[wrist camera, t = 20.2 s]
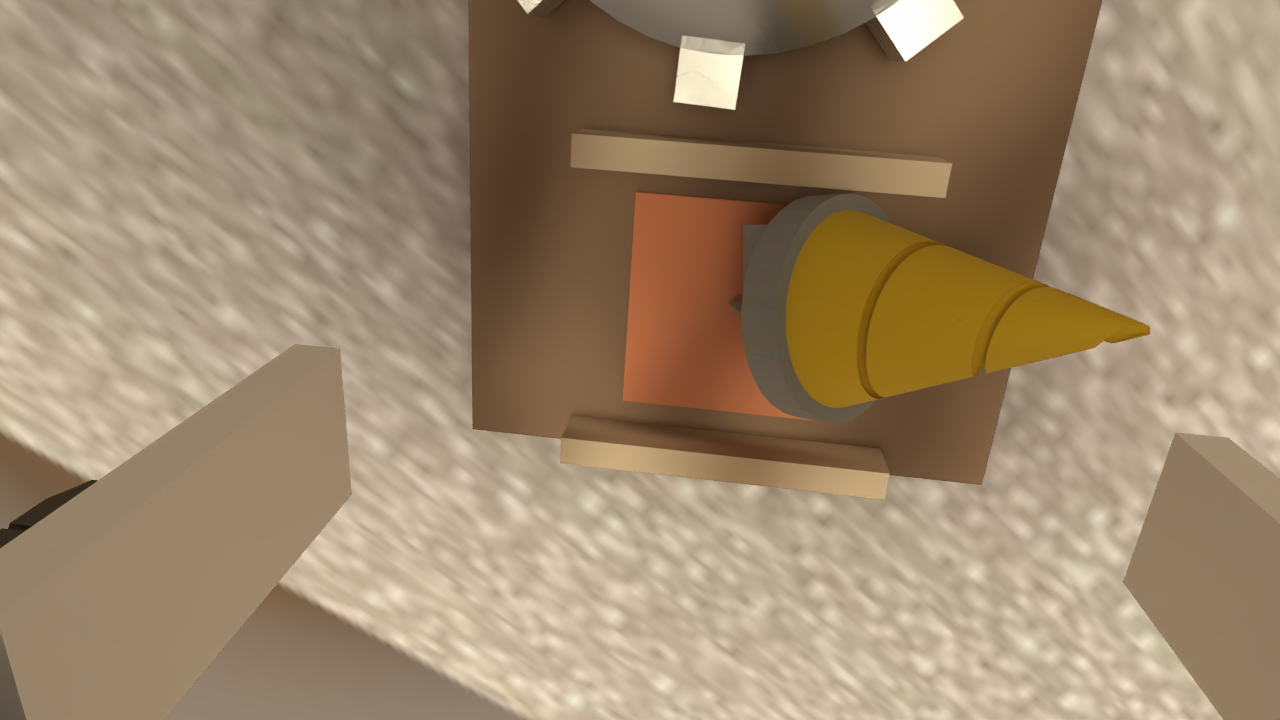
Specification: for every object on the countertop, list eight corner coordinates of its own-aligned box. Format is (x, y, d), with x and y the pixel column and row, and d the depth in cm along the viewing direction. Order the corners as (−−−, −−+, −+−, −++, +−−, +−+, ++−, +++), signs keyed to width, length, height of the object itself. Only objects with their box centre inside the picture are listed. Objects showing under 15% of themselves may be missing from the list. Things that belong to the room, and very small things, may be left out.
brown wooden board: (482, 415, 25) (456, 451, 23) (477, -509, 17) (437, -598, 15) (972, 468, 24) (997, 512, 22) (1205, -498, 16) (1284, -592, 14)
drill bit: (752, 163, 22) (1184, 119, 14) (810, 326, 24) (1205, 360, 17) (623, 271, 19) (1070, 286, 12) (703, 441, 22) (1114, 543, 14)
